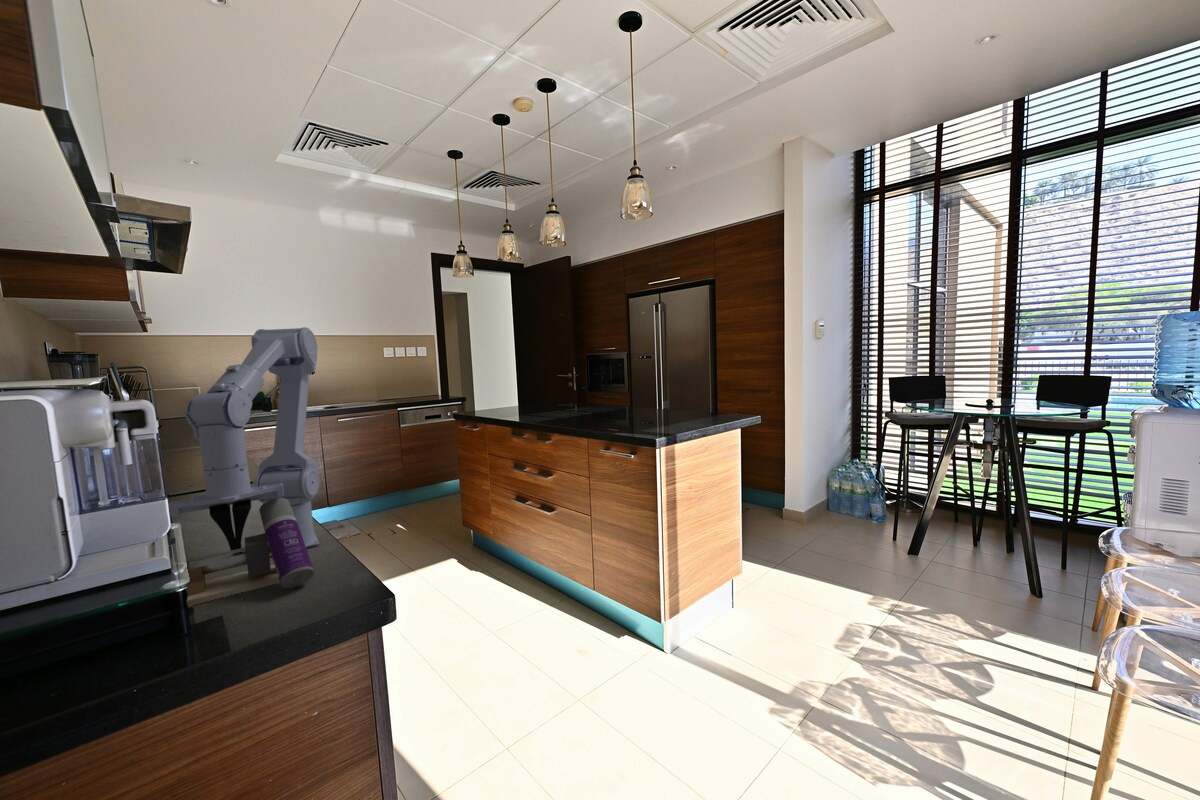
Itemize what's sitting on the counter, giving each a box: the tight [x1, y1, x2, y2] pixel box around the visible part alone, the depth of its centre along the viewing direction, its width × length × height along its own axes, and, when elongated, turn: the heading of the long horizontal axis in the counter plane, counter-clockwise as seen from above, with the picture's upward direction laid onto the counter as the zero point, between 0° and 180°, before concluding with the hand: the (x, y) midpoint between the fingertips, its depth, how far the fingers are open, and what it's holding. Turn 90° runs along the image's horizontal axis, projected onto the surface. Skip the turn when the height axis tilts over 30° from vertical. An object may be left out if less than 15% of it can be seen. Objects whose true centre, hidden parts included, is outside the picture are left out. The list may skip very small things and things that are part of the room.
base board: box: [186, 564, 281, 608], centre depth 79 cm, size 7×14×5 cm, turn 127°
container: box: [258, 498, 315, 589], centre depth 80 cm, size 5×5×15 cm
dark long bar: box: [188, 544, 273, 575], centre depth 79 cm, size 3×13×3 cm, turn 127°
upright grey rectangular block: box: [244, 532, 271, 577], centre depth 80 cm, size 5×3×5 cm, turn 37°
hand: (236, 547), depth 78 cm, fingers closed
